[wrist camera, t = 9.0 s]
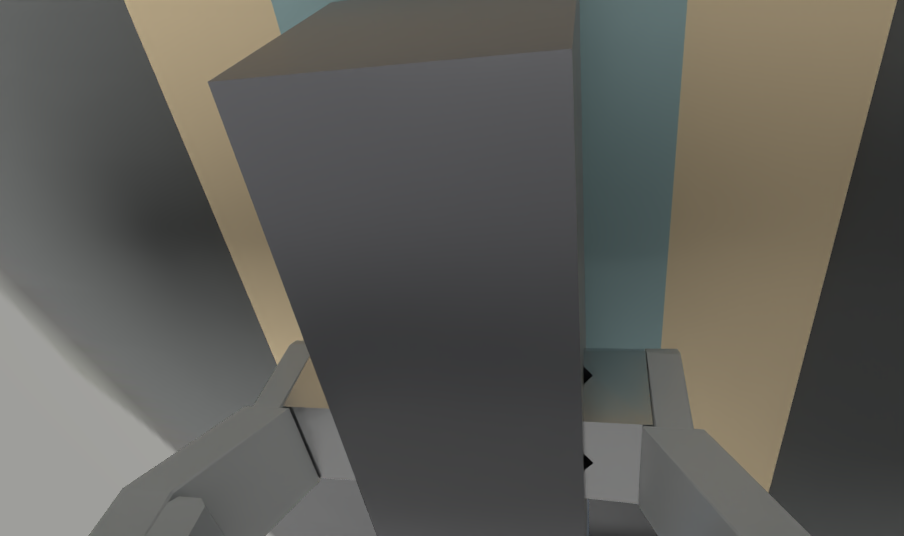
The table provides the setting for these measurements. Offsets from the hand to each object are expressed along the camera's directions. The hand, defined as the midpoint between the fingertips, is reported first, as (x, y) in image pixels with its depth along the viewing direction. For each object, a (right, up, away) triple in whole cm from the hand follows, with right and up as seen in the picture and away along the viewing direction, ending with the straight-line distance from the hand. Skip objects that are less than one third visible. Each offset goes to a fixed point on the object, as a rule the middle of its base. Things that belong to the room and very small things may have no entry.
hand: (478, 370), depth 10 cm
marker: (0, +1, +1) cm, 2 cm away
